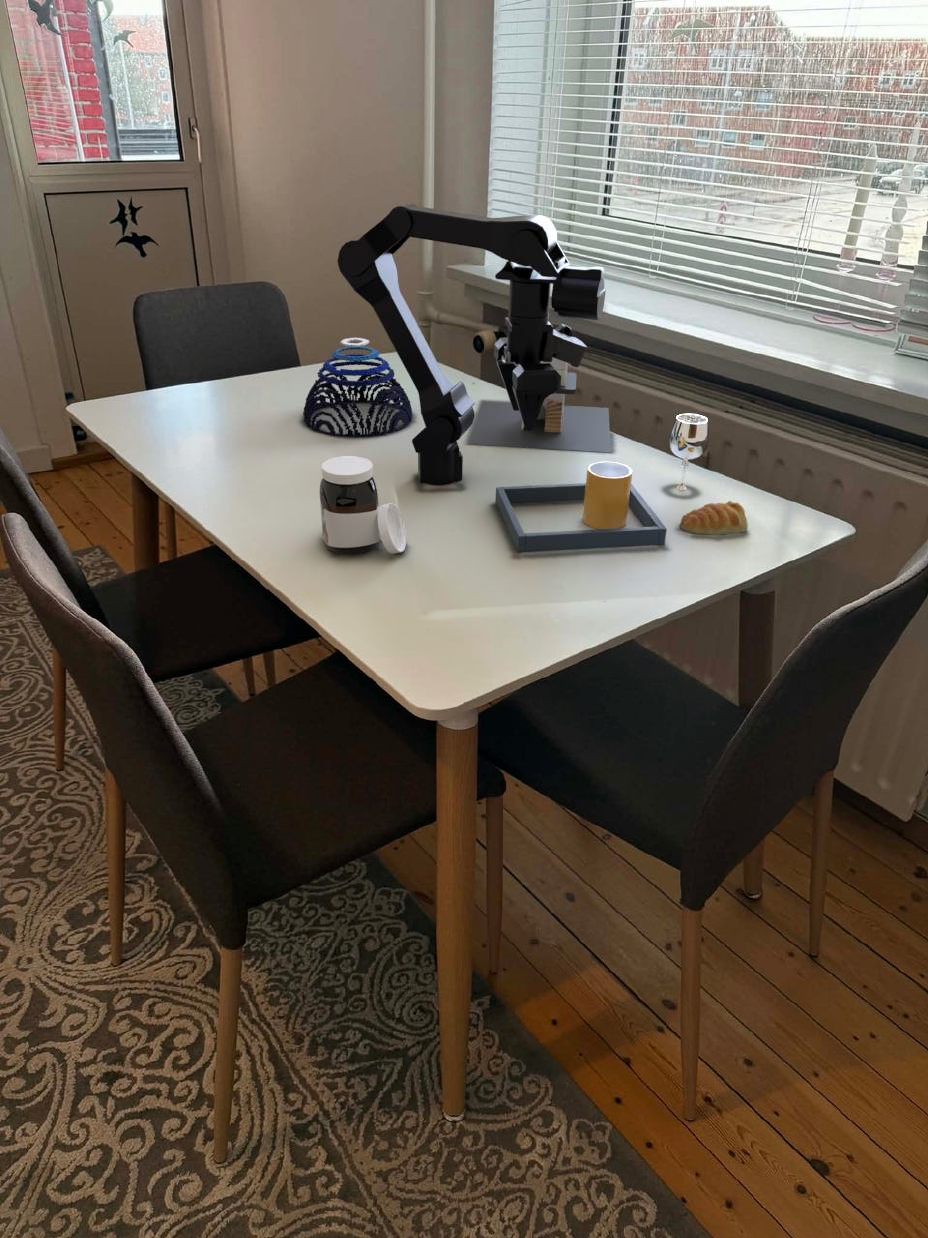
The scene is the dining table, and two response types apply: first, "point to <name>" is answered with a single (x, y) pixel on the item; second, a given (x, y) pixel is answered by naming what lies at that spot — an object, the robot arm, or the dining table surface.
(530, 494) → the blue tray
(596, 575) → the dining table surface
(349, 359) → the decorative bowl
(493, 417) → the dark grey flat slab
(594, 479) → the tapered yellow cylinder
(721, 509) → the pastry
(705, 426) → the wineglass
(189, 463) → the dining table surface
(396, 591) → the dining table surface
